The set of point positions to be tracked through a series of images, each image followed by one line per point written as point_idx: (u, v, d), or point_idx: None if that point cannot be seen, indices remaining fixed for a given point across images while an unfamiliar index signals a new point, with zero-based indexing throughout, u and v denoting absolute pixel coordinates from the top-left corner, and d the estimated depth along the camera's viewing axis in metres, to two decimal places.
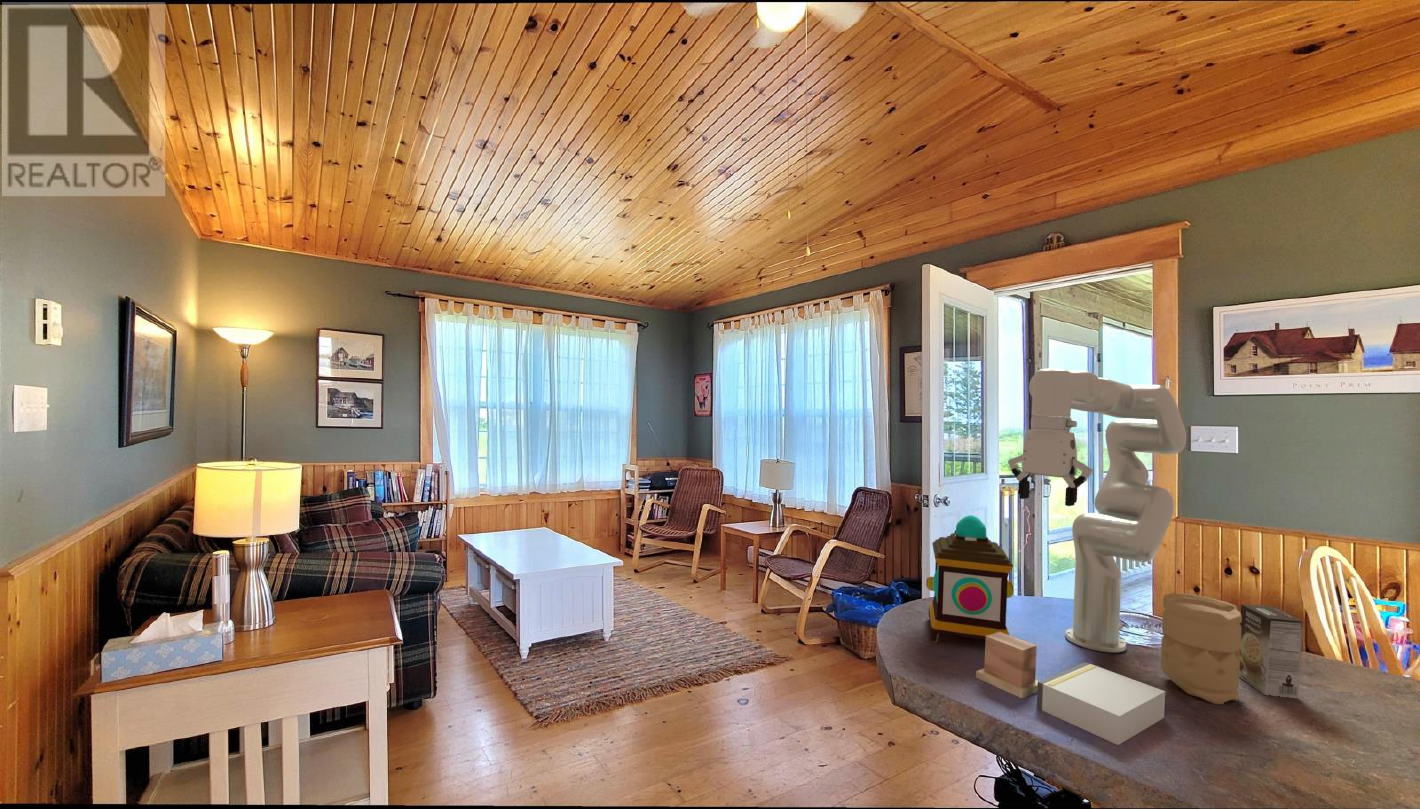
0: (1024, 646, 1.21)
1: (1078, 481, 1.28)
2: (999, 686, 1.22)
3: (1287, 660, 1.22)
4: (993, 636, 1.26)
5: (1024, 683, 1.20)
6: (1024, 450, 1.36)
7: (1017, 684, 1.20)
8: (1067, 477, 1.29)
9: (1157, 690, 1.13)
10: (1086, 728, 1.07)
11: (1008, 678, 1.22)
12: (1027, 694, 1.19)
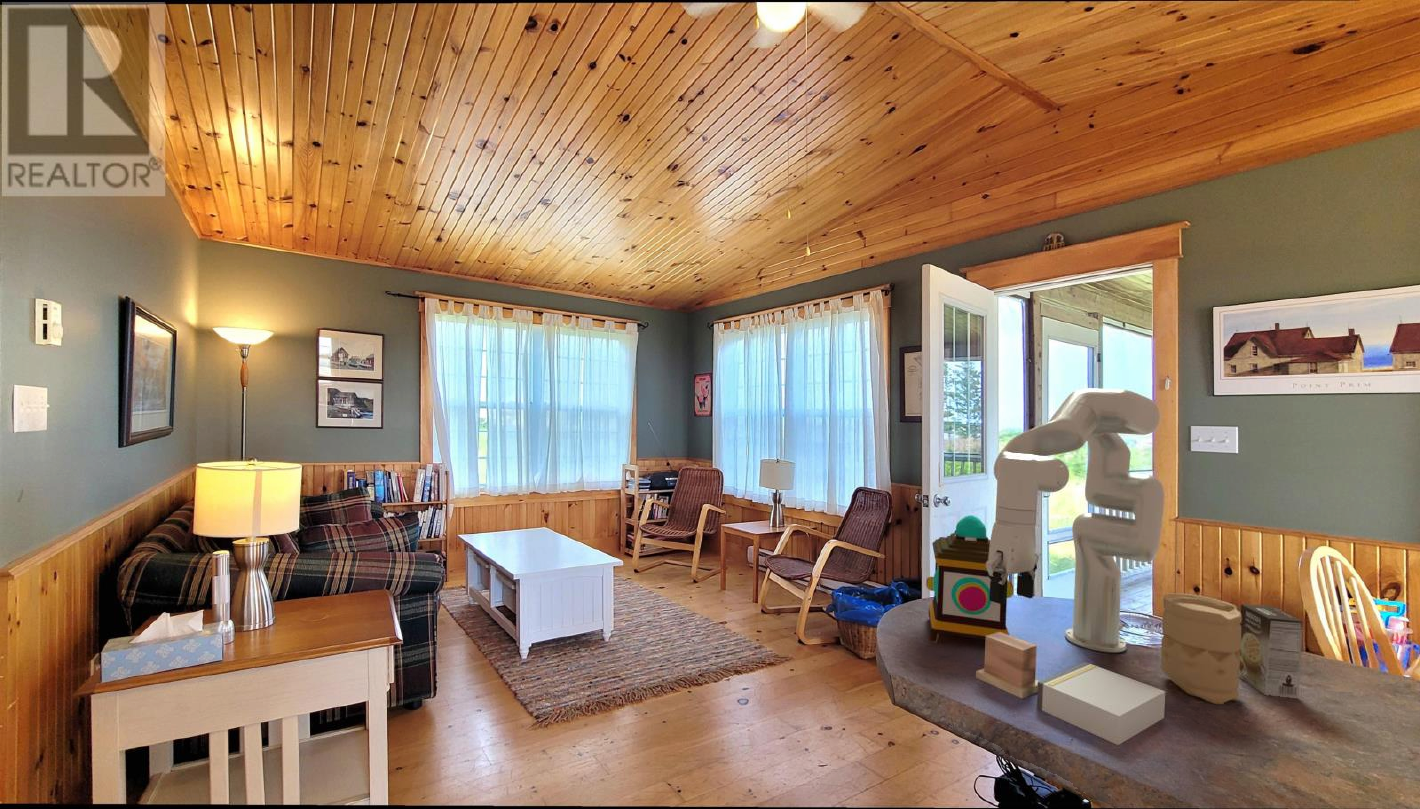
0: (1024, 646, 1.21)
1: (1034, 570, 1.27)
2: (999, 686, 1.22)
3: (1287, 660, 1.22)
4: (993, 636, 1.26)
5: (1024, 683, 1.20)
6: (1011, 549, 1.20)
7: (1017, 684, 1.20)
8: (1031, 569, 1.25)
9: (1157, 690, 1.13)
10: (1086, 728, 1.07)
11: (1008, 678, 1.22)
12: (1027, 694, 1.19)
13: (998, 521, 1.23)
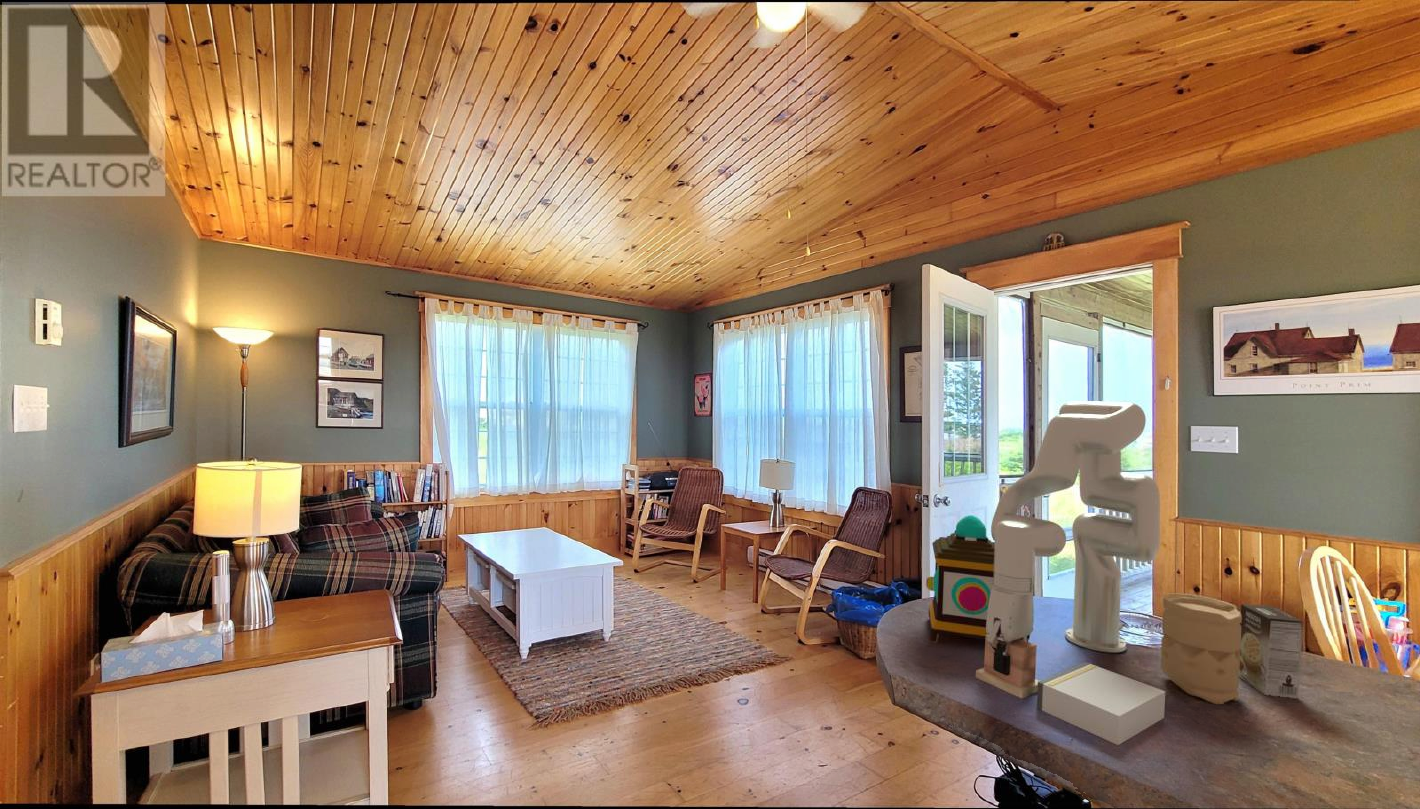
0: (1024, 646, 1.21)
1: (1026, 640, 1.26)
2: (999, 685, 1.22)
3: (1287, 660, 1.22)
4: None
5: (1024, 682, 1.20)
6: (1009, 617, 1.20)
7: (1017, 683, 1.20)
8: (1026, 638, 1.25)
9: (1157, 690, 1.13)
10: (1086, 728, 1.07)
11: (1008, 677, 1.22)
12: (1027, 693, 1.19)
13: (996, 587, 1.24)
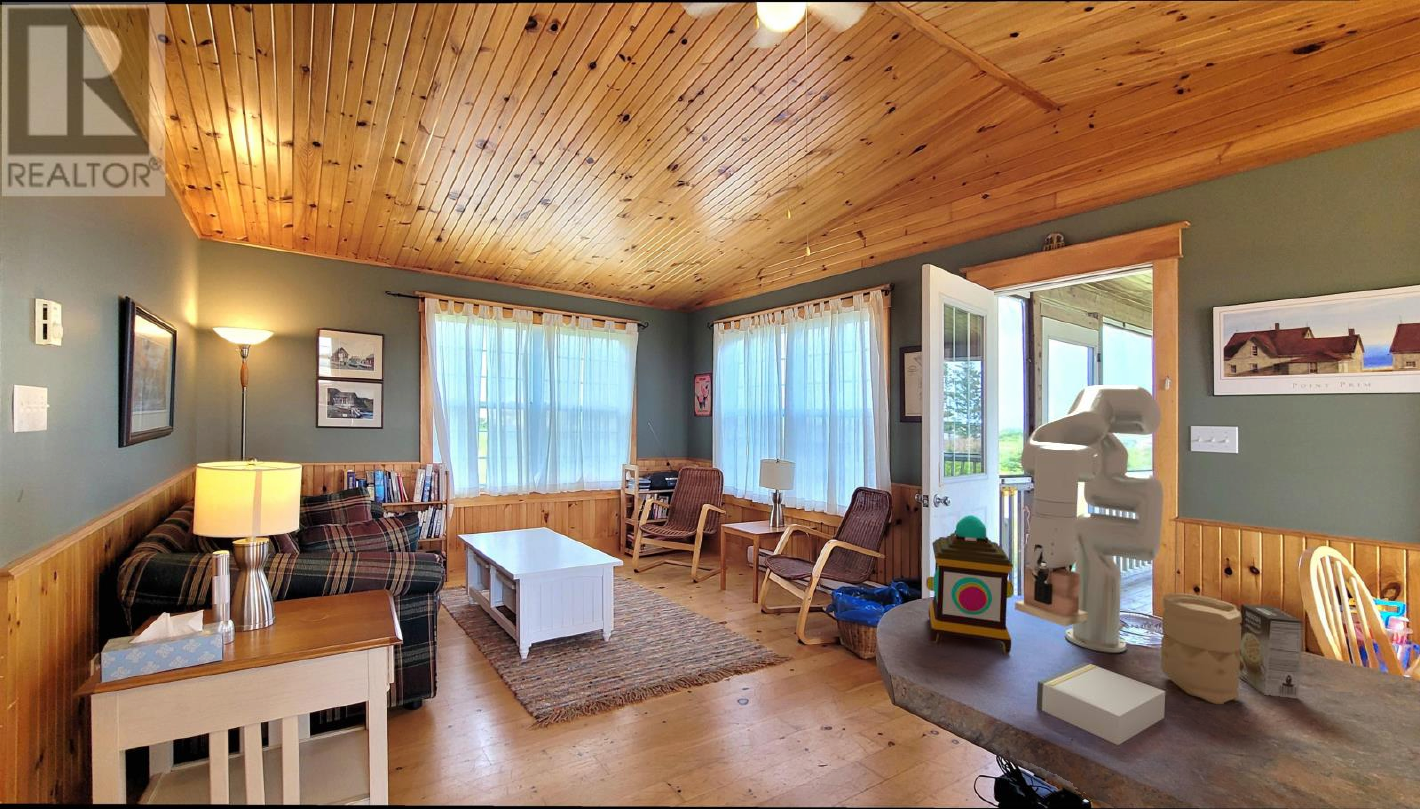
0: (1067, 574, 1.16)
1: None
2: (1040, 615, 1.17)
3: (1287, 660, 1.22)
4: None
5: (1067, 611, 1.15)
6: (1051, 543, 1.15)
7: (1059, 612, 1.15)
8: (1068, 568, 1.20)
9: (1157, 690, 1.13)
10: (1086, 728, 1.07)
11: (1050, 607, 1.17)
12: (1070, 622, 1.14)
13: (1036, 514, 1.19)
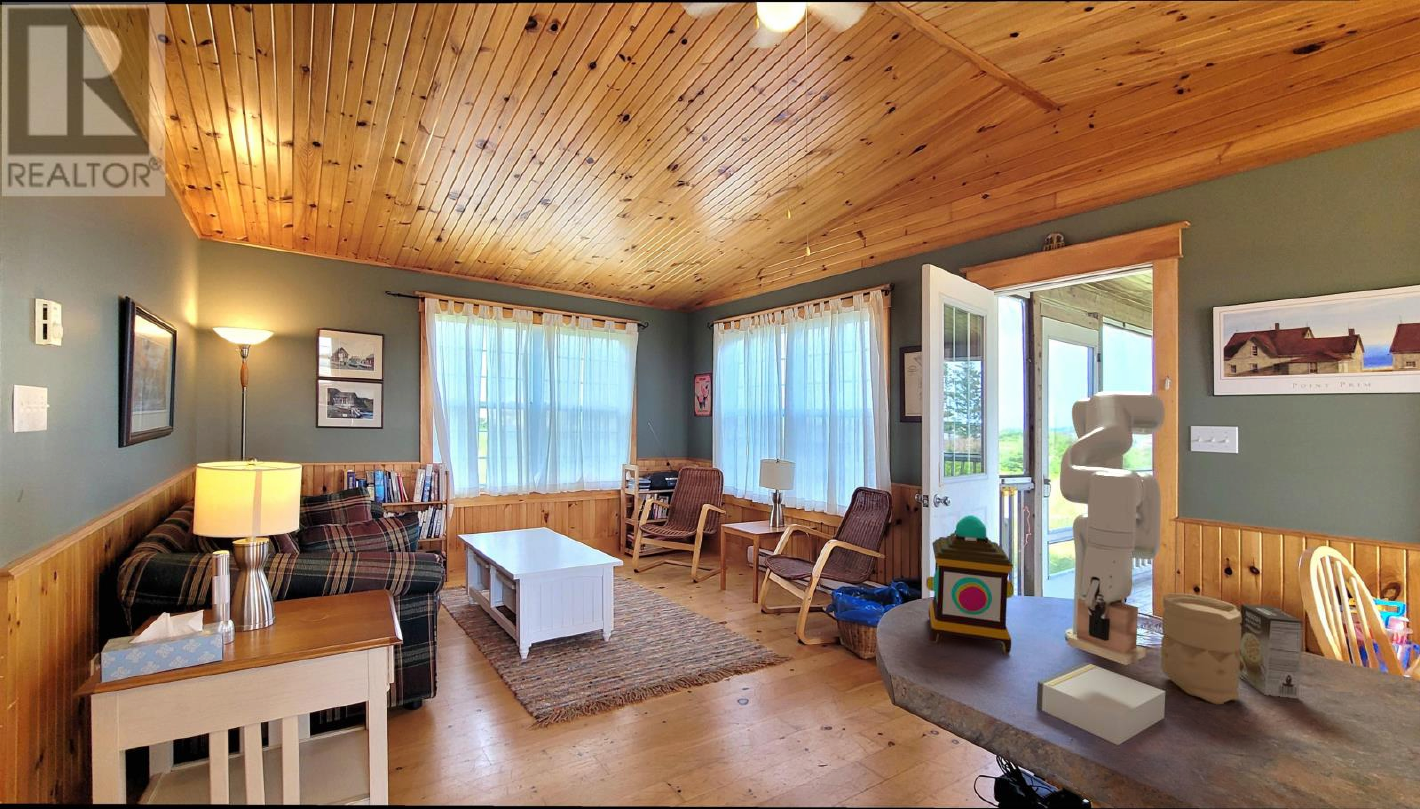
0: (1125, 608, 1.10)
1: None
2: (1097, 652, 1.11)
3: (1287, 660, 1.22)
4: None
5: (1126, 648, 1.09)
6: (1109, 575, 1.09)
7: (1118, 649, 1.09)
8: (1124, 601, 1.13)
9: (1157, 690, 1.13)
10: (1086, 728, 1.07)
11: (1107, 643, 1.10)
12: (1130, 660, 1.08)
13: (1091, 544, 1.12)
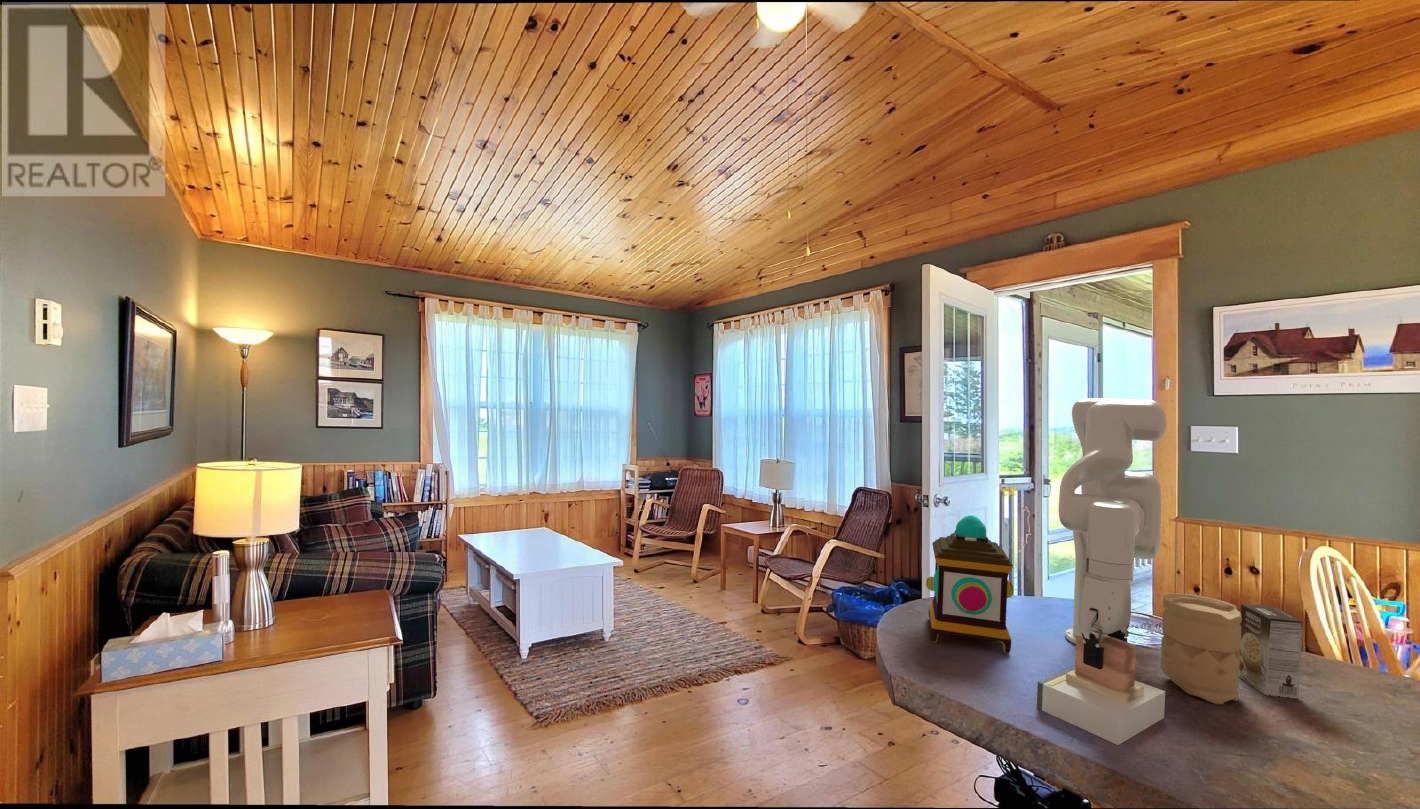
0: (1123, 646, 1.10)
1: (1126, 627, 1.16)
2: (1095, 690, 1.11)
3: (1287, 660, 1.22)
4: None
5: (1124, 687, 1.09)
6: (1108, 607, 1.09)
7: (1116, 688, 1.09)
8: (1125, 626, 1.14)
9: (1157, 690, 1.13)
10: (1086, 728, 1.07)
11: (1105, 681, 1.11)
12: (1128, 699, 1.08)
13: (1090, 575, 1.12)
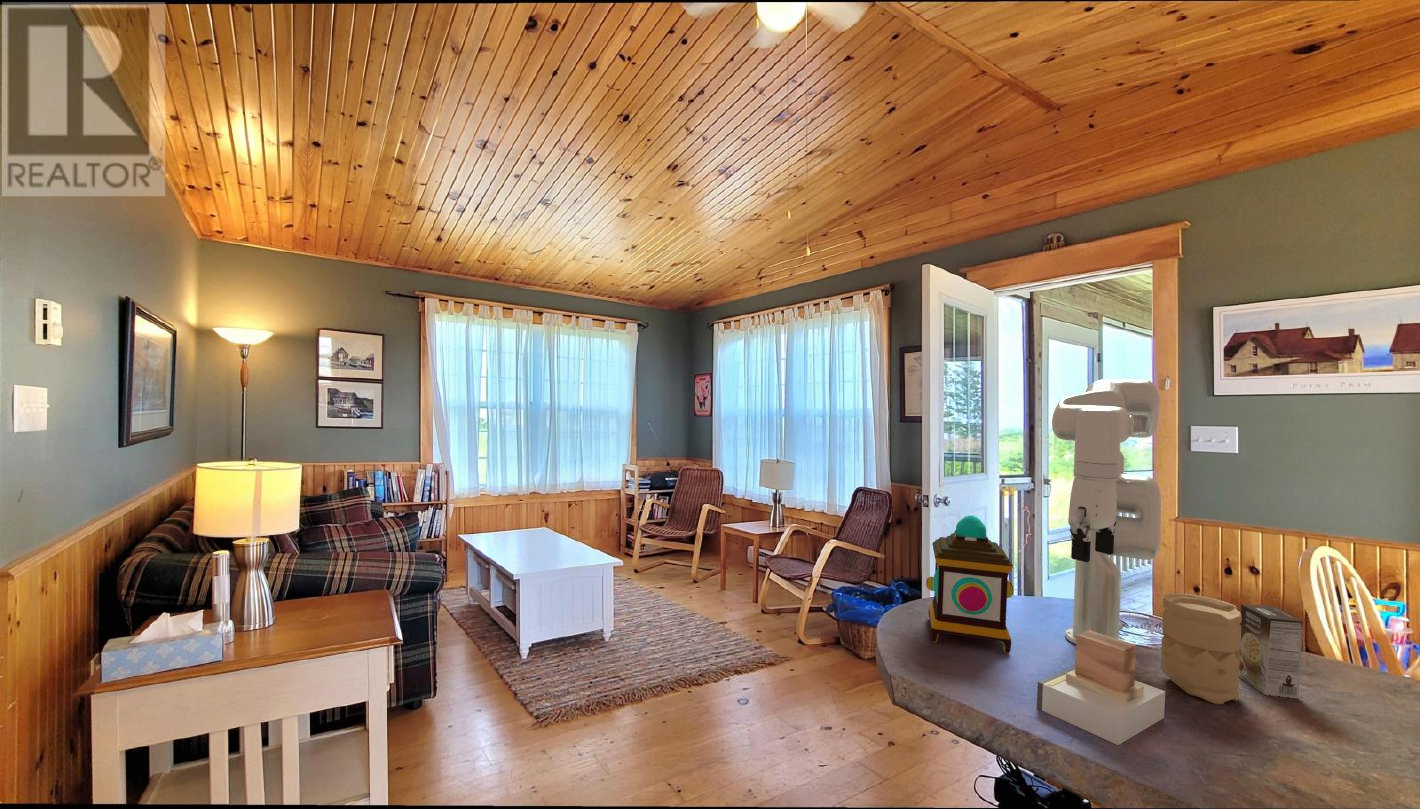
0: (1123, 646, 1.10)
1: (1113, 525, 1.22)
2: (1095, 690, 1.11)
3: (1287, 660, 1.22)
4: (1085, 635, 1.15)
5: (1124, 687, 1.09)
6: (1095, 504, 1.15)
7: (1116, 688, 1.09)
8: (1112, 524, 1.21)
9: (1157, 690, 1.13)
10: (1086, 728, 1.07)
11: (1105, 681, 1.11)
12: (1128, 699, 1.08)
13: (1078, 476, 1.18)
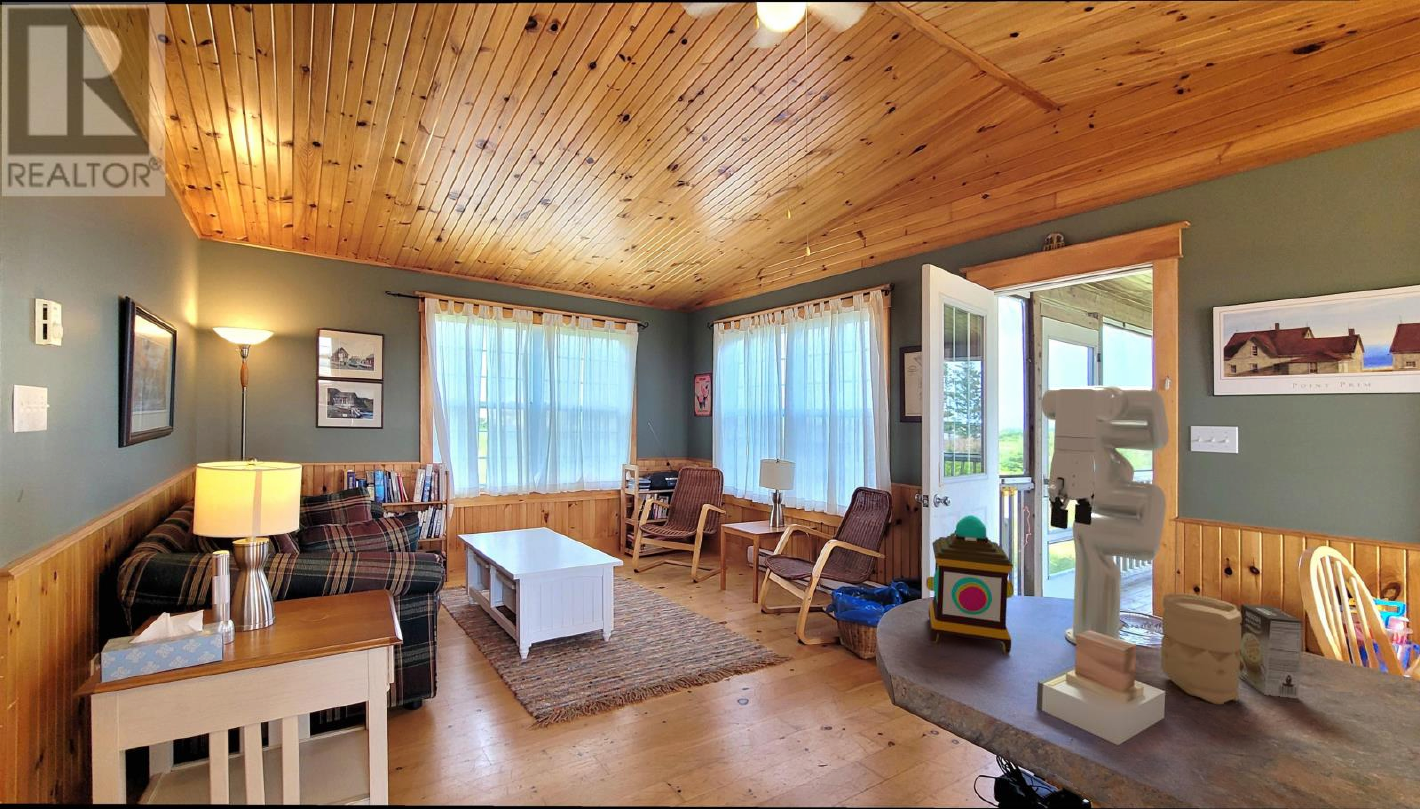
0: (1123, 646, 1.10)
1: (1091, 498, 1.31)
2: (1095, 690, 1.11)
3: (1287, 660, 1.22)
4: (1085, 635, 1.15)
5: (1124, 687, 1.09)
6: (1072, 475, 1.24)
7: (1116, 688, 1.09)
8: (1090, 496, 1.29)
9: (1157, 690, 1.13)
10: (1086, 728, 1.07)
11: (1105, 681, 1.11)
12: (1128, 699, 1.08)
13: (1058, 450, 1.27)
